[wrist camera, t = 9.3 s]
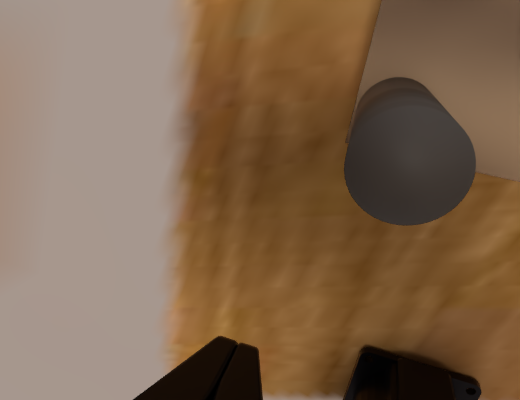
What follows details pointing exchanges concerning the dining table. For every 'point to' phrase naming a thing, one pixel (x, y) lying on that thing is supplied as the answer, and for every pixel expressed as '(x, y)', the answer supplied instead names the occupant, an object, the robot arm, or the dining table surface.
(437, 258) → the dining table surface
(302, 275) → the dining table surface
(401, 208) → the square plate with pegs
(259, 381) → the robot arm
